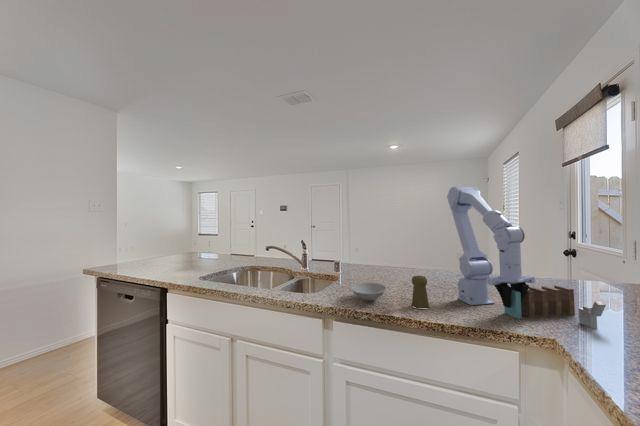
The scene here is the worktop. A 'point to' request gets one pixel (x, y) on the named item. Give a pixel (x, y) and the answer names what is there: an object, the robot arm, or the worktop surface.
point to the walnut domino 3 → (553, 300)
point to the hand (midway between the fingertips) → (512, 306)
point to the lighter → (591, 314)
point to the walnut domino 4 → (566, 299)
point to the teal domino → (514, 305)
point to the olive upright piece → (419, 292)
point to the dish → (368, 290)
